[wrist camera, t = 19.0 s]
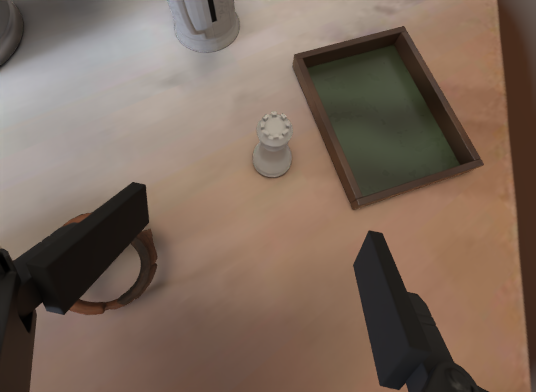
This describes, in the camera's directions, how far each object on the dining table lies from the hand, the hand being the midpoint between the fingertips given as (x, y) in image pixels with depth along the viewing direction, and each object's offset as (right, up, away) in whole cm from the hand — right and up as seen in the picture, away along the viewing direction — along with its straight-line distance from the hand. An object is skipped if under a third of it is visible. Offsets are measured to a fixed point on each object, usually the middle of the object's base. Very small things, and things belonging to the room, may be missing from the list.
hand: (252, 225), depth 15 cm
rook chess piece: (+1, +6, +15) cm, 16 cm away
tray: (+14, +12, +16) cm, 25 cm away
